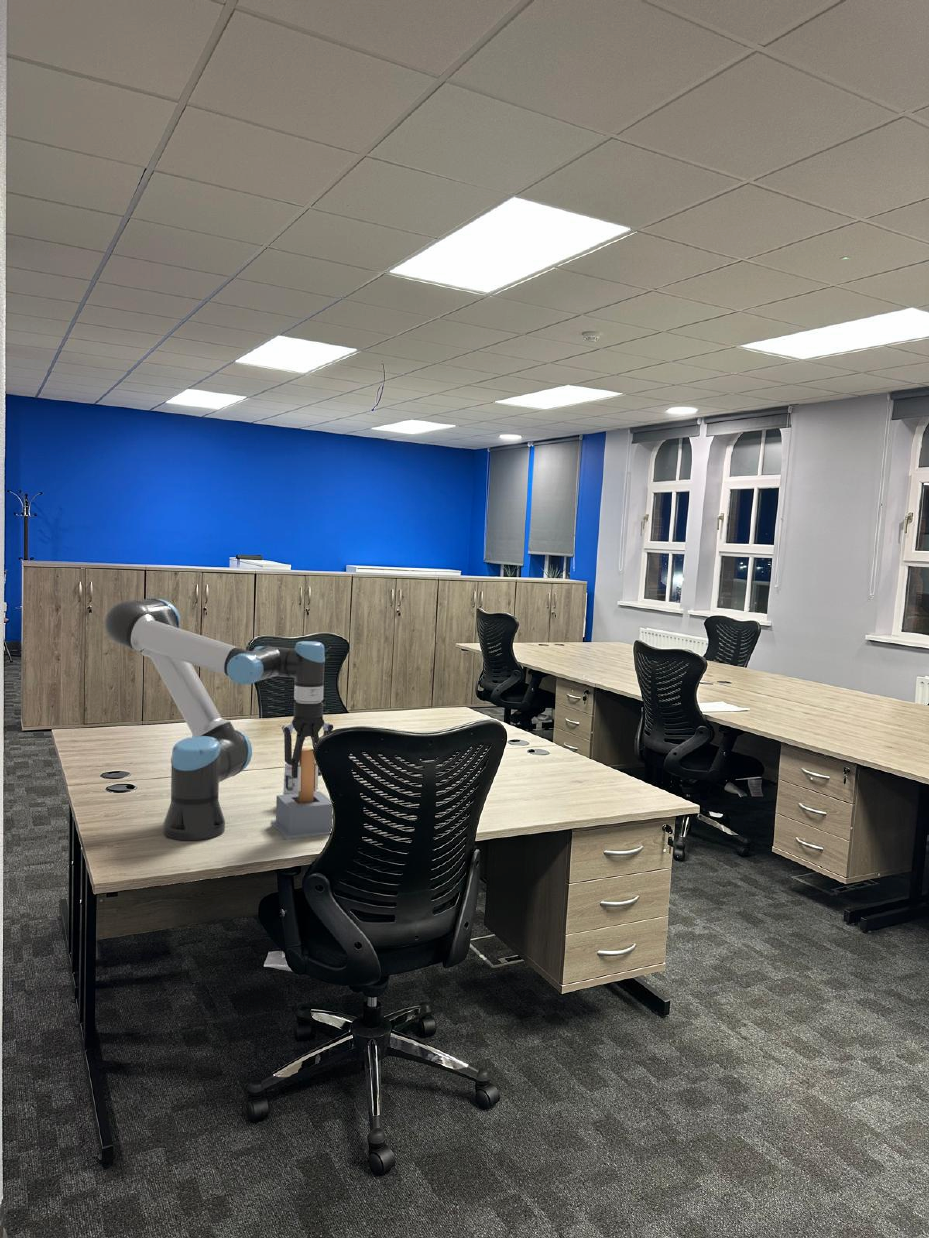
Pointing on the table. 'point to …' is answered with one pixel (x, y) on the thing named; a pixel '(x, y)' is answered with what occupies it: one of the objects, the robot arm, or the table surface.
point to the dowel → (307, 776)
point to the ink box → (289, 781)
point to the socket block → (303, 816)
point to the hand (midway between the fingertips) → (306, 788)
